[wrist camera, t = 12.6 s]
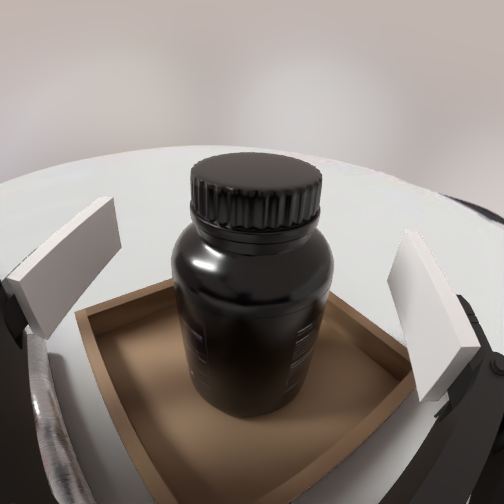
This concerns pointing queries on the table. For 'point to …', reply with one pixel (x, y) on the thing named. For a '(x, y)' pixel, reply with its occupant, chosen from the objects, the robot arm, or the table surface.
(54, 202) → the table surface
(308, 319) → the supplement bottle
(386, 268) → the table surface
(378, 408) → the tray
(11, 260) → the table surface
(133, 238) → the table surface
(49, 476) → the pin
